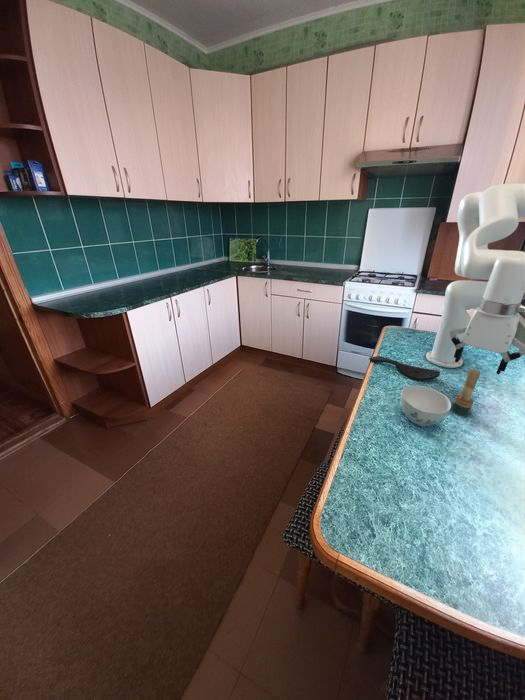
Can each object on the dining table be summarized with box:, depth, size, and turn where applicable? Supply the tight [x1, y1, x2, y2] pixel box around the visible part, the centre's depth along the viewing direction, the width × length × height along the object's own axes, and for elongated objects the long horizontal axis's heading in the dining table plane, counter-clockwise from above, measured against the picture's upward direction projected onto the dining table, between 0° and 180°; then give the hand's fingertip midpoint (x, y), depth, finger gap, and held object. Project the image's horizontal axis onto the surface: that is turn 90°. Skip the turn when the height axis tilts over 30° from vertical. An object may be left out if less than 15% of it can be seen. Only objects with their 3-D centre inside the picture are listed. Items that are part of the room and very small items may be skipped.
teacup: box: [400, 385, 452, 427], centre depth 84 cm, size 15×12×8 cm
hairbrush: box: [368, 355, 441, 381], centre depth 109 cm, size 8×4×25 cm
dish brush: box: [450, 368, 481, 417], centre depth 85 cm, size 5×5×14 cm
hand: (477, 366), depth 80 cm, fingers open, 9 cm apart
